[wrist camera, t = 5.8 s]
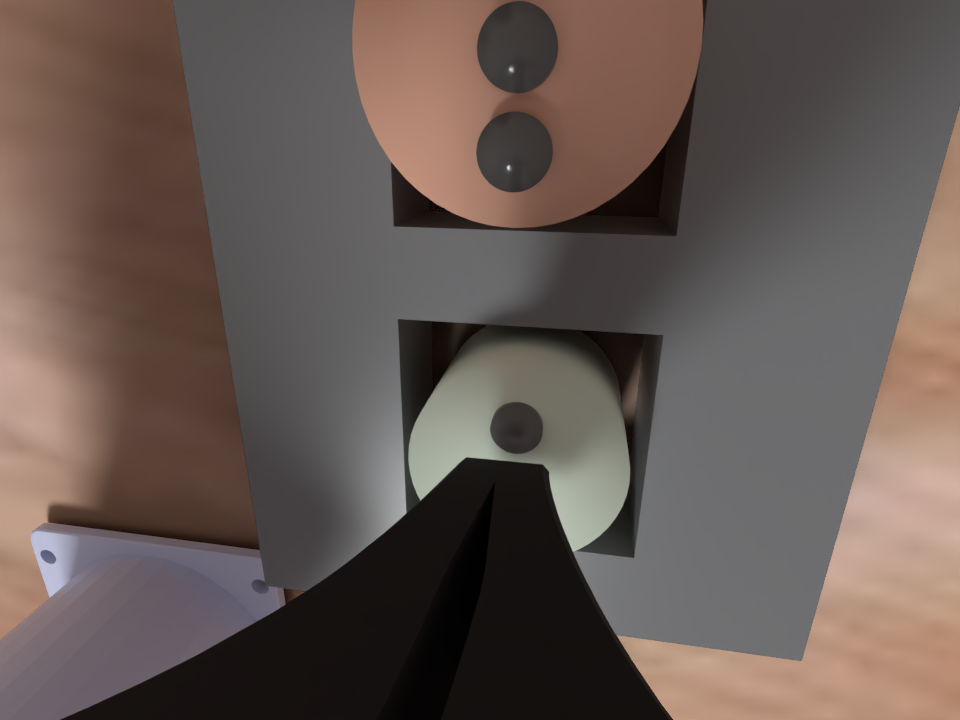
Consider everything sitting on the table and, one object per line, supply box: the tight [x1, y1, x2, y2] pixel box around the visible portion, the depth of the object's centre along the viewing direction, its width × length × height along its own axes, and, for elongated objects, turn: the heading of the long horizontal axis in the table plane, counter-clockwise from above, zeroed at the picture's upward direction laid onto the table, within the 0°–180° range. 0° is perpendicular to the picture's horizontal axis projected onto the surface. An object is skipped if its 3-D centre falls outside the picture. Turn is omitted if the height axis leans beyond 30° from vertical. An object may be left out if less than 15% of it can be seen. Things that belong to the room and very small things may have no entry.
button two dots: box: [408, 325, 630, 552], centre depth 12 cm, size 4×4×3 cm
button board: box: [172, 0, 960, 661], centre depth 10 cm, size 22×12×2 cm, turn 0°
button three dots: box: [352, 0, 703, 228], centre depth 8 cm, size 4×4×3 cm
